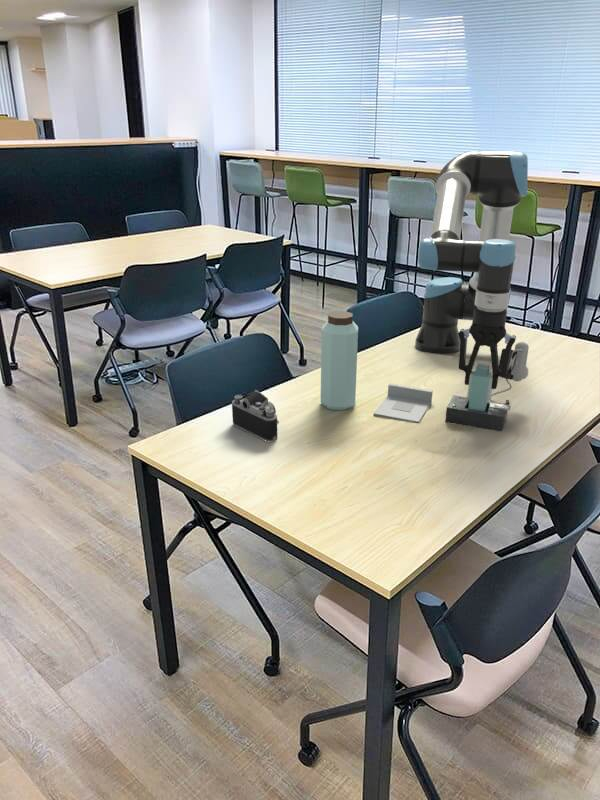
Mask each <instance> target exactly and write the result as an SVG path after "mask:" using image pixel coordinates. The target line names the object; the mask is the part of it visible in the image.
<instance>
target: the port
mask: <svg viewBox="0 0 600 800" xmlns="http://www.w3.org/2000/svg"><path fill="white" fill-rule="evenodd" d="M468 407H469V399H467V396H466V397H465V396H459V395H452V397H451V399H450V400H449V402H448V404H447V405H446V411H445V412H446V413H445V420H444V422H445V423H447V424H453V425H459V426H466V427H471V428H476V429H477V428H478V429H485V430H490V431H496V432H503V431H504V427H505V425H506V421H507V418H508V412H510V411H511V408H512V406H511V405H510V404H506V403H502V402H498V403H497V401H495V402H491V401H489V402H488V403H487V409H486V412H484V411H478V410H472V409H468Z"/></svg>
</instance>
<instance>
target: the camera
mask: <svg viewBox="0 0 600 800" xmlns="http://www.w3.org/2000/svg"><path fill="white" fill-rule="evenodd" d="M276 412H277V410H276V407H275V405H274V403H272V402H271V401H269V398H268V397H267V396H265V395H264V394H263V393H262V392H260V391H259V390H257V389H255V390H254V391H252V392H251V393H249V394H248V395H247V396H246V397H244V398H243V395H241V394H236V395H234V399H233V400H232V401H231V413H232V416H231V417H232V425H233V426H234V427H237V428H238V429H241V430H242V431H244V432H246V433H248V434H250V435H253V436H254V435H255V437H256V436H257V437H256V438H258V437H259V439H260V438H262V439H264V440H266V441H265V442H267V441H273V442H275V440H276V441H277V440H278V424H279V422H280V421H279V420H278V414H277V413H276ZM262 439H261V440H262ZM264 440H263V441H264Z"/></svg>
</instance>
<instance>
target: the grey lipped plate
mask: <svg viewBox="0 0 600 800" xmlns="http://www.w3.org/2000/svg"><path fill="white" fill-rule="evenodd" d="M432 401H433V390H432V389H426V388H422V387H421V388H420V387H415V386H408V385H402V384H395V383H389V384H388V386H387V395H386V397H385V398H384V399H383V400H382V402H381V403H380V404H379V405H378V407H377V409H375V411H374V412H373V416H374V417H380V418H386V419H391V420H397V421H404V422H409V423H417V424H419V423H421V421H422V419H423V417H424V415H425V414H426V413H427V411H428V409H429V408H430V406H431V405H432Z"/></svg>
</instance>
